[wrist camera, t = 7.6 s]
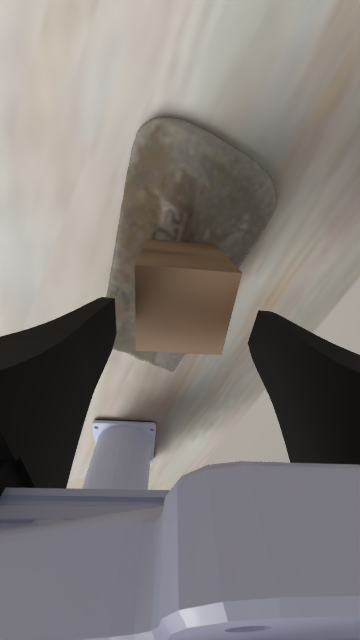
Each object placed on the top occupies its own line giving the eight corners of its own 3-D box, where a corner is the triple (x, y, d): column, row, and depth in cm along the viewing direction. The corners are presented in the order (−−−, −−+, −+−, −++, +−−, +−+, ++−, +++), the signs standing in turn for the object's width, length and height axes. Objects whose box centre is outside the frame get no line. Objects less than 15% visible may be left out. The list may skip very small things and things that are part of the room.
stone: (143, 94, 12) (299, 173, 13) (152, 117, 15) (281, 181, 16) (82, 351, 19) (185, 387, 20) (95, 336, 22) (185, 368, 23)
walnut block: (206, 307, 18) (221, 354, 13) (145, 303, 17) (135, 350, 12) (217, 245, 15) (241, 273, 10) (146, 238, 15) (134, 264, 10)
